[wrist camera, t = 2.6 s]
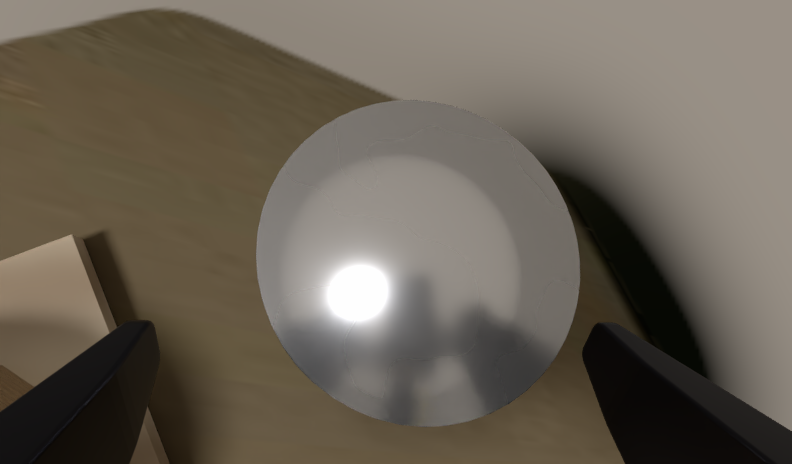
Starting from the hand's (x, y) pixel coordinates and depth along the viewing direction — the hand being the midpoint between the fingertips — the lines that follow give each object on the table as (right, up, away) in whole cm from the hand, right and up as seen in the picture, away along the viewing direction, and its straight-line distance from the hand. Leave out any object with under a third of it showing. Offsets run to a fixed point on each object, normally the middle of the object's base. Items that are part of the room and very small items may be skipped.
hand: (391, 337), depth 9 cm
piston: (-2, -1, +9) cm, 9 cm away
